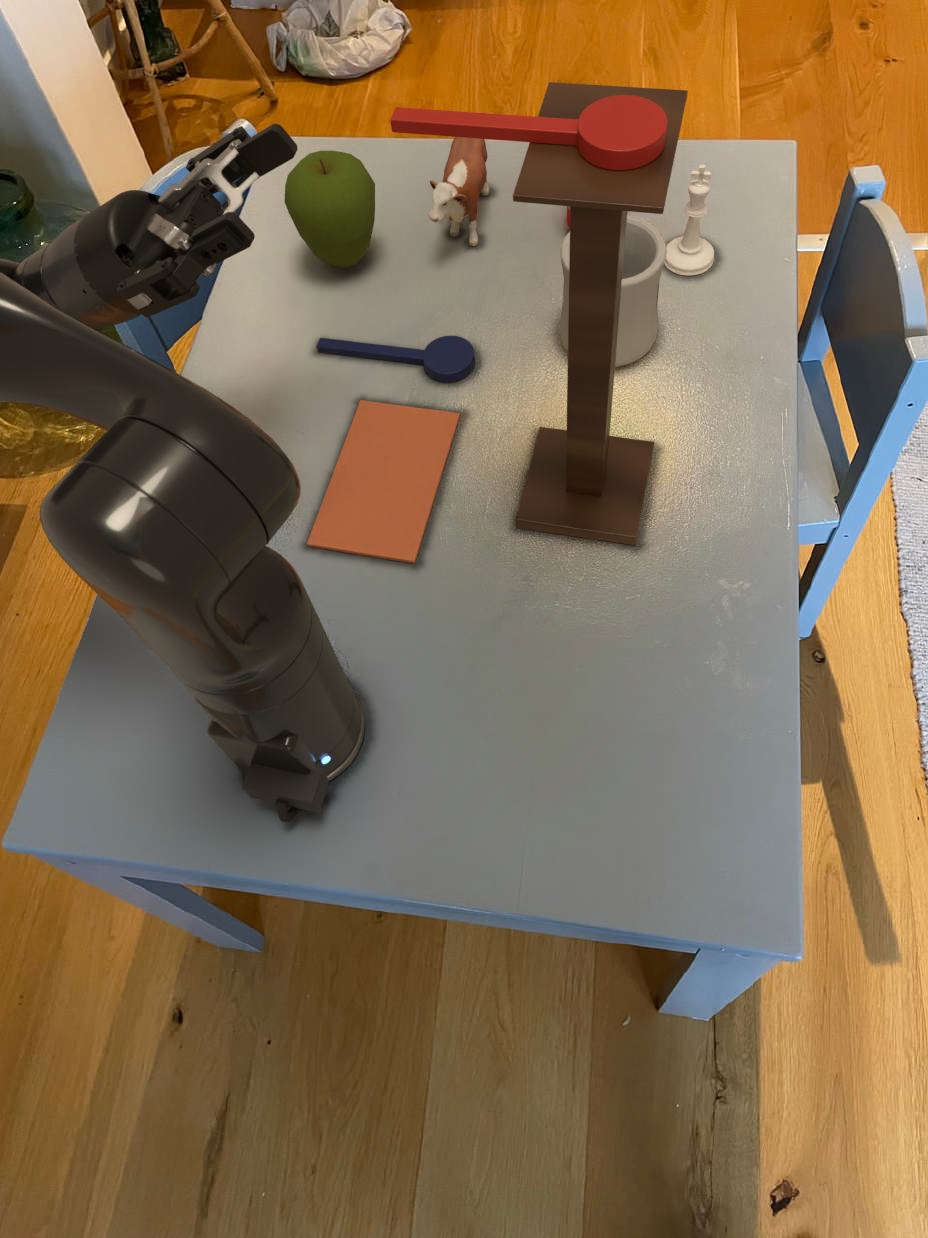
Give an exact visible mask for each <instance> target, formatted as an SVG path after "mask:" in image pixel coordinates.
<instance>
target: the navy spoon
mask: <svg viewBox="0 0 928 1238" xmlns="http://www.w3.org/2000/svg"><path fill="white" fill-rule="evenodd" d="M316 350H317V353H323V354H329V355H330V354H331V355H338V356H348V357H356V358H363V359H370V360H371V359H372V360H380V361H381V360H382V361H388V362H397V363H404V364H405V363H406V364H412V365H420V366H421V365H423V367H424V370H425V372H426V374H427V375H428V376H429V377H430V378H431V379H433V380H434V381H437V382H439V383H447V384H449V383H455V382H459V381H461V380H463V379H464V380H465V378H467V377H468V376H469V375H470V374H471V373H472V372H473V370H474V369H475V366H476V355H475V349H474V347H473V344H472V343H471V342H470V341H469V340H467V339H466V338H464V337H462V336H458V335H443V336H440V337H437V338H435V339H433V340H431V341H430V342H429V343H428V344H427V345H426V347H425V348H424V349H420V348H411V347H403V346H393V345H385V344H379V343H378V344H377V343H369V342H362V341H361V342H360V341H352V340H343V339H334V338H325V337H319V339H318V342H317V344H316Z"/></svg>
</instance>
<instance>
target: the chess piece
mask: <svg viewBox="0 0 928 1238" xmlns="http://www.w3.org/2000/svg"><path fill="white" fill-rule="evenodd" d="M705 169H706V164H700V165H699V170H691V175H690V179H693V180H691V181H690V182H689V183H688V185H687V191H688V194H689V201H688V202H686V204H685V205H684V207H683V211H684V214H685V215H686V216H688V219H687V223H686V226H685V230H684V233H683V235H681V236H678V237H676V238H674V239H672V240H671V241H669V243H666V250H667V254H666V257H665V261H664V266H665V267H666V268H667V270H669V271H670V272H671V273H672V272H673V273H674V274H677V275H680V276H686V277H687V276H689V277H690V276H697V275H700V274H703V273H705V272H707V271H708V270H709V269H711V267H712V266H713V264H714V262H715V249H714V247H713V246H712V244H711V243H710V242H709V241H708V240H706V239H704V238H703V237H700V235H701V234H700V233H701V231H700V230H701V228H700V227H701V218H702V217H705V216H706V215H707V213H708V205H707V204H706V203H705V200H706V198H707V196H708V195H709V193H710V191H711V183H710V182H709V181H708V180H711V176H712V171H707V170H705Z"/></svg>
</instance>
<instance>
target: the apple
mask: <svg viewBox="0 0 928 1238" xmlns="http://www.w3.org/2000/svg"><path fill="white" fill-rule="evenodd" d="M286 176H287V177H286V180H285V185H284V205H285V207H286V209H287V212H288V214H289V217H290V218H291V221H292V223H293V225H294V226H295V229H296V231H297V233H298V235H299V236H300V238H301V239H302V240H303V242H304V243H305V244H306V245H307V247H308V248H309V249H310V251H311V252H312V253H313V255H314V256H315V257H316V258H317V260H320V261H322V262H324V263H326V264H329V265H331V266H333V267H335V268H337V269H338V268H339V269H344V268H349V267H354V265H356V264H357V263H359V261H360V260H361V259H362V258H363V257H364V256H365V254H366V253H367V251H368V250H369V249H370V245H371V240H372V235H373V231H374V225H375V219H376V215H375V214H376V182H375V180H373V178H372V176H371V175H370V173H369V171H368V169H367V168H366V167H365V165H364V163H363V162H362V160H361V159H359V158H357V157H356V156H354V155H353V154H352V153H348V152H344V151H338V150H317V151H314V152H310V153H309V154H307V155H306V156H304V157H303V158H301V159H300V160H299V162H297V163H296V165H295V166H294V167H293V168H292V169H291V171H290V172H289V173H288V174H287V175H286Z"/></svg>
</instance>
